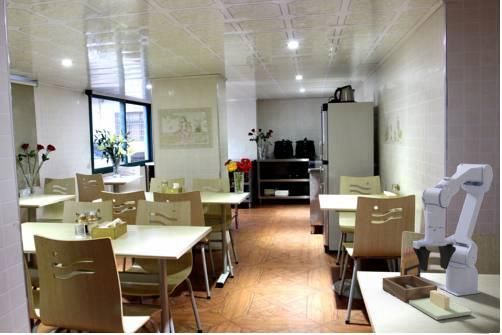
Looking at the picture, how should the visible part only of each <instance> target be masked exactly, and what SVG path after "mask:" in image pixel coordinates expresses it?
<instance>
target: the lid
mask: <svg viewBox="0 0 502 335" xmlns="http://www.w3.org/2000/svg"><path fill="white" fill-rule="evenodd" d="M450 298H451V297H450V296H449V295H448V296H447V295H446V294H443V293H442V292H440V291H438V290H437V291H436V290H433V291H430V298H423V299H416V300H409V302H408V304H410V305H411V306H413V307H414V308H416V309H418V310H419V311H421V312H423V313H425V314H426V315H428V316H430V317H432V318H433V319H435V320H444V319H451V318H457V317H463V316H470V315H472V312H473V311H472V310H470V309H469V308H467V307H465V306H463V305H461V304H459V303H457V302H454V301H453V300H451V299H450Z"/></svg>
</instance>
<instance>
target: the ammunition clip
mask: <svg viewBox="0 0 502 335" xmlns="http://www.w3.org/2000/svg"><path fill="white" fill-rule="evenodd" d="M399 271H400V272H399V273H400V274H399V276H404V275H415V276H417V277H419V278H421V269H420V264H419V260H418V257H417V255H416V253H415V251H414V250H413V246H411V247H409V248H408V247H406V249H405V248H403V251H402V257H401V267H400V270H399Z"/></svg>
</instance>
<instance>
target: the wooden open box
mask: <svg viewBox="0 0 502 335" xmlns="http://www.w3.org/2000/svg"><path fill="white" fill-rule="evenodd" d="M382 289H383V291H385V292H387V293H388V294H389V295H391V296H393V297H395V298H396V299H398V300H399V301H401V302H404V303H409V300H416V299H423V298H430V291H433V290H436V291H438V285H436V284H434V283H432V282H429V281H428V280H425V279H423V278H421V277H417V276H415V275H404V276H400V275H396V276H389V277H382Z"/></svg>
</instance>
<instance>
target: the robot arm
mask: <svg viewBox="0 0 502 335" xmlns="http://www.w3.org/2000/svg"><path fill="white" fill-rule="evenodd" d="M493 179H494V172H493V168H492V166H491V165H490V164H487V163H486V164H481V163H479V164H476V163H474V164H473V163H460V164H459V165H457V167H456V172H455V173H454V174H453V175H452V176H450V177H449V176H444V177H443V179H442V180H440V181H439V182H438V183H437V184H435V185H434V186H433V187H427V188H425V189H423V192H422V196H421V201H422V204H423V211H425V214H424V215H425V216H424V217H425V221H424V224H425V225H424V229H425V230H424V238H421V239H419V240H413V241H412V247H413V250H414V251H415V253H416V255H417V257H418V260H419V264H420V271H423V272H428V269H429V268H428V267H429V258H430V254H431V253H432V252H431V250H429V249H428V248H433V247H438V251H439V264H440V268H441V269H445V285H441V286H439V289H441V290H443V291H446V292H448V293H449V294H451V295H453V296H456V297H460V296H467V295H474V294H475V295H476V294H479V293H481V292H480V291H479V290H478V287H479V286H478V285H479V284H478V283H479V273H478V270H477V269H478V268H477V267H476V266H475V265H476V263H477V261H478V259H477V258H478V249H479V247H478V245H477V243H476V242H474V240H472V236H473V234H474V230H475V227H476V224H477V219H478V217H479V212H480V209H481V205H482V202H483V199H484V195H485V193H487V192H489V190H490V188H491V185H492V181H493ZM460 186H461V187H460ZM460 188H461V189H462V190H464V191H466V196H465V199H464V202H463V205H462V210H461V213H460V215H459V220H458V221H457V225H456V229H455V231H454V234H452V235H450V236H447V237H446V215H447V214H446V213H447V209H446V208H447V207H449V205H450V203H451V200H452V198H453V196H455V195H456V194H457V193H458V192H459V191H460Z"/></svg>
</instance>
